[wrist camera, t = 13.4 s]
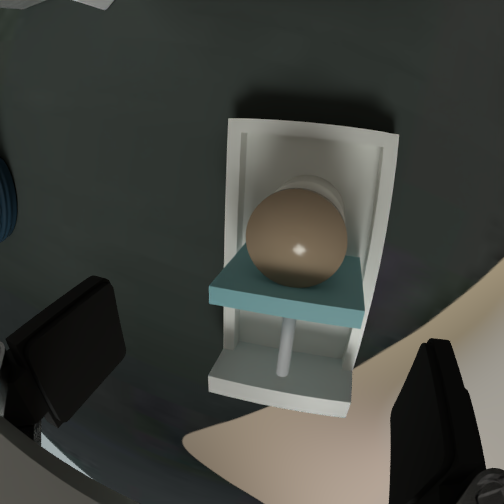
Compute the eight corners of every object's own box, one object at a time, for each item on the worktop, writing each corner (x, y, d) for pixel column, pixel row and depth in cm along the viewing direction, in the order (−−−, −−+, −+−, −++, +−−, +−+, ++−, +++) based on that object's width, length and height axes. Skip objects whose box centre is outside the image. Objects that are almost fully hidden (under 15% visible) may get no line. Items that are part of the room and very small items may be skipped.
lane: (394, 134, 21) (411, 135, 16) (348, 372, 29) (345, 417, 24) (236, 119, 24) (206, 116, 18) (230, 352, 32) (208, 391, 27)
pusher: (359, 257, 24) (365, 311, 17) (339, 351, 28) (333, 418, 20) (246, 241, 26) (208, 286, 19) (242, 335, 30) (212, 394, 22)
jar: (350, 179, 23) (354, 197, 16) (340, 252, 25) (338, 294, 19) (273, 169, 24) (248, 184, 18) (268, 241, 26) (243, 279, 20)
